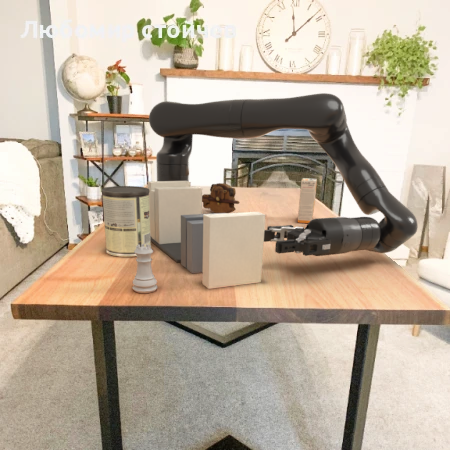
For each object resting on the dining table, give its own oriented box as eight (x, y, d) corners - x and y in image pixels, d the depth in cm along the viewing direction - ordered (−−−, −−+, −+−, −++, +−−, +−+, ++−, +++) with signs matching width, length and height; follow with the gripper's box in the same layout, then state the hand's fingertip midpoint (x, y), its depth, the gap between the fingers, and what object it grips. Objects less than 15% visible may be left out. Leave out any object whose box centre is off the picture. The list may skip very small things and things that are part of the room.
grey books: (180, 264, 94) (180, 214, 90) (223, 260, 98) (224, 212, 94) (192, 273, 88) (192, 221, 85) (236, 268, 92) (238, 218, 89)
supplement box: (312, 223, 139) (317, 181, 134) (297, 222, 140) (301, 180, 135) (313, 219, 146) (317, 178, 142) (298, 218, 147) (302, 177, 142)
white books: (144, 236, 116) (143, 180, 111) (187, 233, 121) (187, 180, 116) (177, 262, 95) (176, 195, 90) (227, 257, 100) (229, 193, 95)
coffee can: (107, 245, 106) (103, 185, 101) (150, 245, 108) (149, 186, 103) (103, 257, 97) (99, 191, 91) (151, 256, 98) (149, 192, 93)
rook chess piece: (133, 285, 81) (131, 242, 78) (158, 285, 81) (157, 242, 78) (131, 294, 77) (128, 249, 74) (157, 294, 77) (155, 249, 74)
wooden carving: (196, 210, 153) (197, 181, 150) (205, 209, 157) (206, 180, 153) (233, 218, 143) (234, 186, 140) (242, 216, 147) (243, 185, 143)
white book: (202, 283, 83) (203, 214, 78) (253, 277, 87) (257, 211, 83) (208, 289, 80) (210, 217, 75) (261, 282, 85) (265, 214, 80)
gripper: (314, 211, 95) (247, 215, 88) (359, 224, 83) (286, 230, 76) (310, 245, 98) (245, 251, 91) (354, 263, 86) (283, 271, 79)
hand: (264, 241), depth 84 cm, fingers open, 8 cm apart
